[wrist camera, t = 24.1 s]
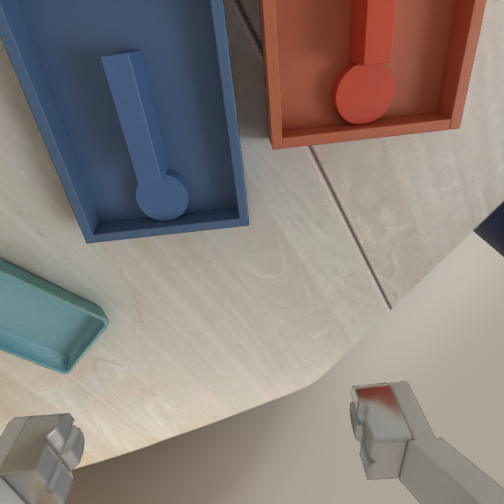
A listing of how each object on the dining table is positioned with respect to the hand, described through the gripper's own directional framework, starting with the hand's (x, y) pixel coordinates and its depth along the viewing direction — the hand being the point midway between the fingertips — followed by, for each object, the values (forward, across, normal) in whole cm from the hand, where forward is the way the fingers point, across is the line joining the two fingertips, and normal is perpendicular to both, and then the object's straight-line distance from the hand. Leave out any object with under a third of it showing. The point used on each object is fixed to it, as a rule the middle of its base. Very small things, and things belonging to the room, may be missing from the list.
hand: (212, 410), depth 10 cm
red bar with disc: (+19, -10, -8) cm, 23 cm away
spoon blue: (+19, +5, -3) cm, 20 cm away
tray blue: (+20, +5, -5) cm, 21 cm away
